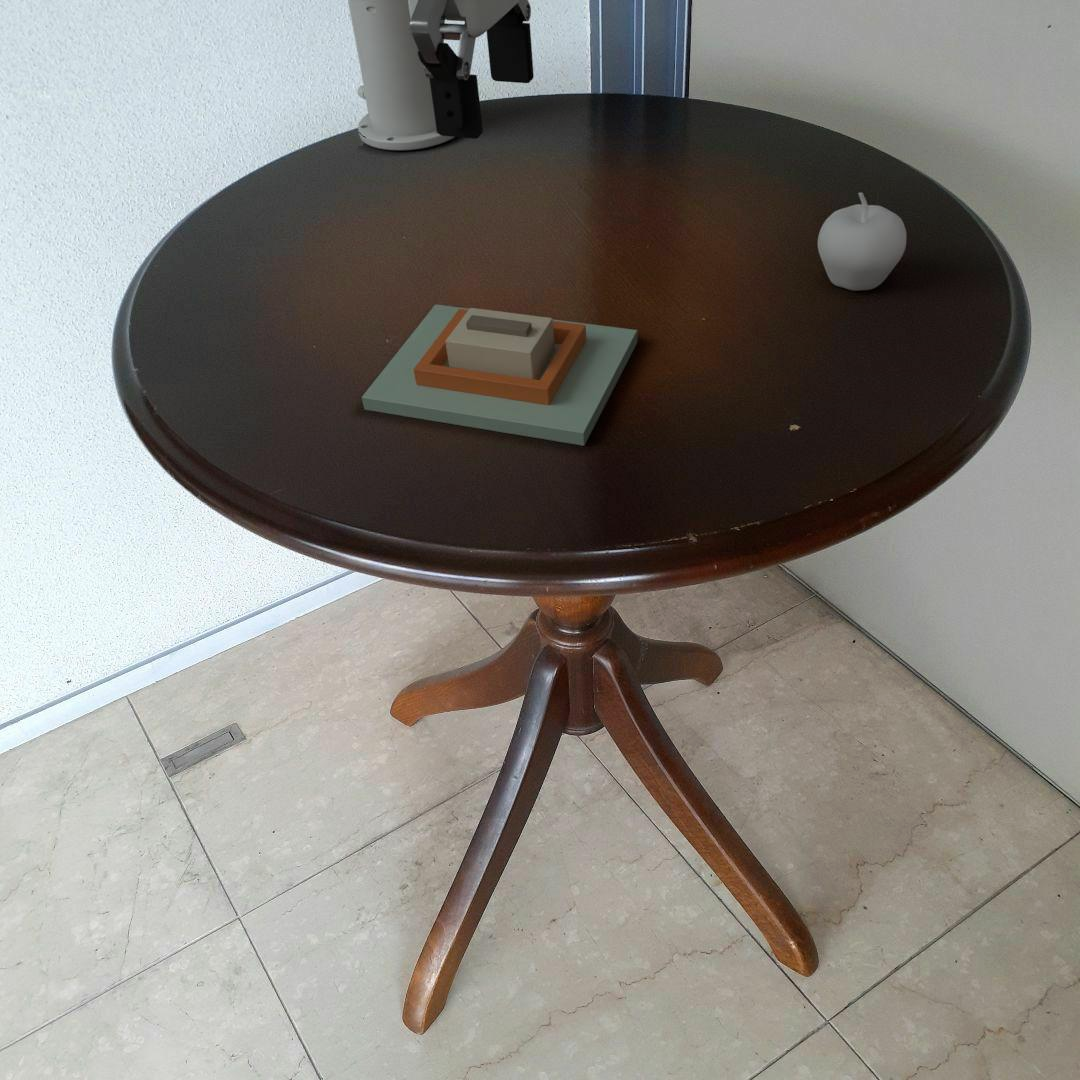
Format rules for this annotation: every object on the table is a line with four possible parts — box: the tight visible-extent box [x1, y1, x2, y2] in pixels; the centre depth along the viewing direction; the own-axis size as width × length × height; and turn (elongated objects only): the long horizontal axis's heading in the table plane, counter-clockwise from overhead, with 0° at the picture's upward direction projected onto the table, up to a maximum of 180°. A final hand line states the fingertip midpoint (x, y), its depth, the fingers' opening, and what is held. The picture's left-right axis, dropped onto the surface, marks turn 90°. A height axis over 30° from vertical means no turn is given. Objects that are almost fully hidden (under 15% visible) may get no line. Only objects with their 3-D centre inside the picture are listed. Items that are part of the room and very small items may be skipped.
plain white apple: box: [816, 191, 907, 292], centre depth 85 cm, size 7×7×8 cm
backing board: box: [361, 304, 638, 447], centre depth 81 cm, size 18×14×3 cm
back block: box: [445, 307, 555, 380], centre depth 80 cm, size 7×5×4 cm
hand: (487, 106), depth 73 cm, fingers open, 9 cm apart
